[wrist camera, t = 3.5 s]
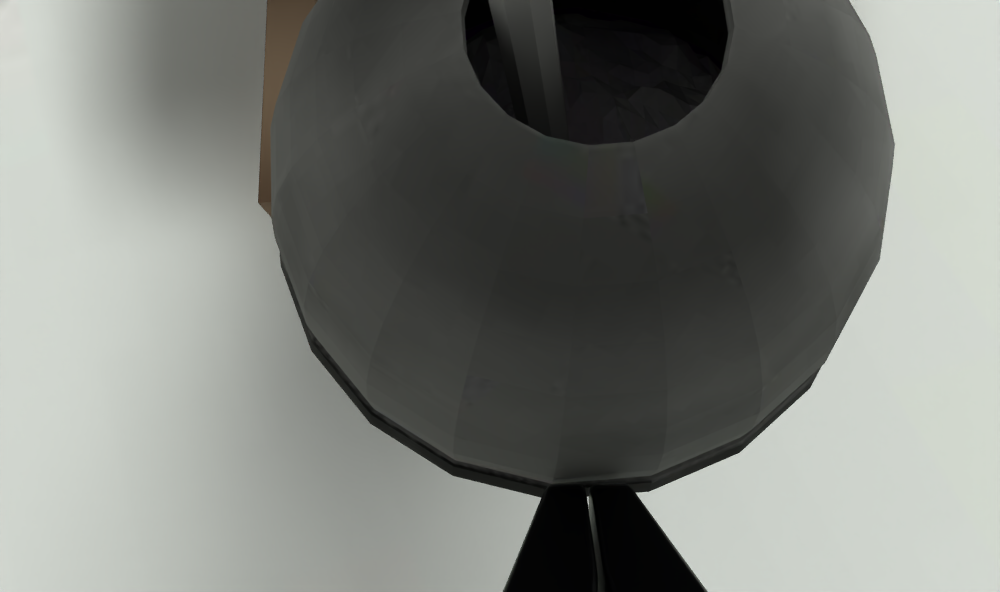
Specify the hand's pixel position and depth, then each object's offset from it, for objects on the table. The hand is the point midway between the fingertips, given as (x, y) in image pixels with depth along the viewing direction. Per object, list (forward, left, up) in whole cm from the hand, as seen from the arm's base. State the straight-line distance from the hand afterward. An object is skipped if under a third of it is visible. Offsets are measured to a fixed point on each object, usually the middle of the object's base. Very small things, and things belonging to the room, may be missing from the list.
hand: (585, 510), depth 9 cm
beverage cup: (+3, -2, -12) cm, 13 cm away
